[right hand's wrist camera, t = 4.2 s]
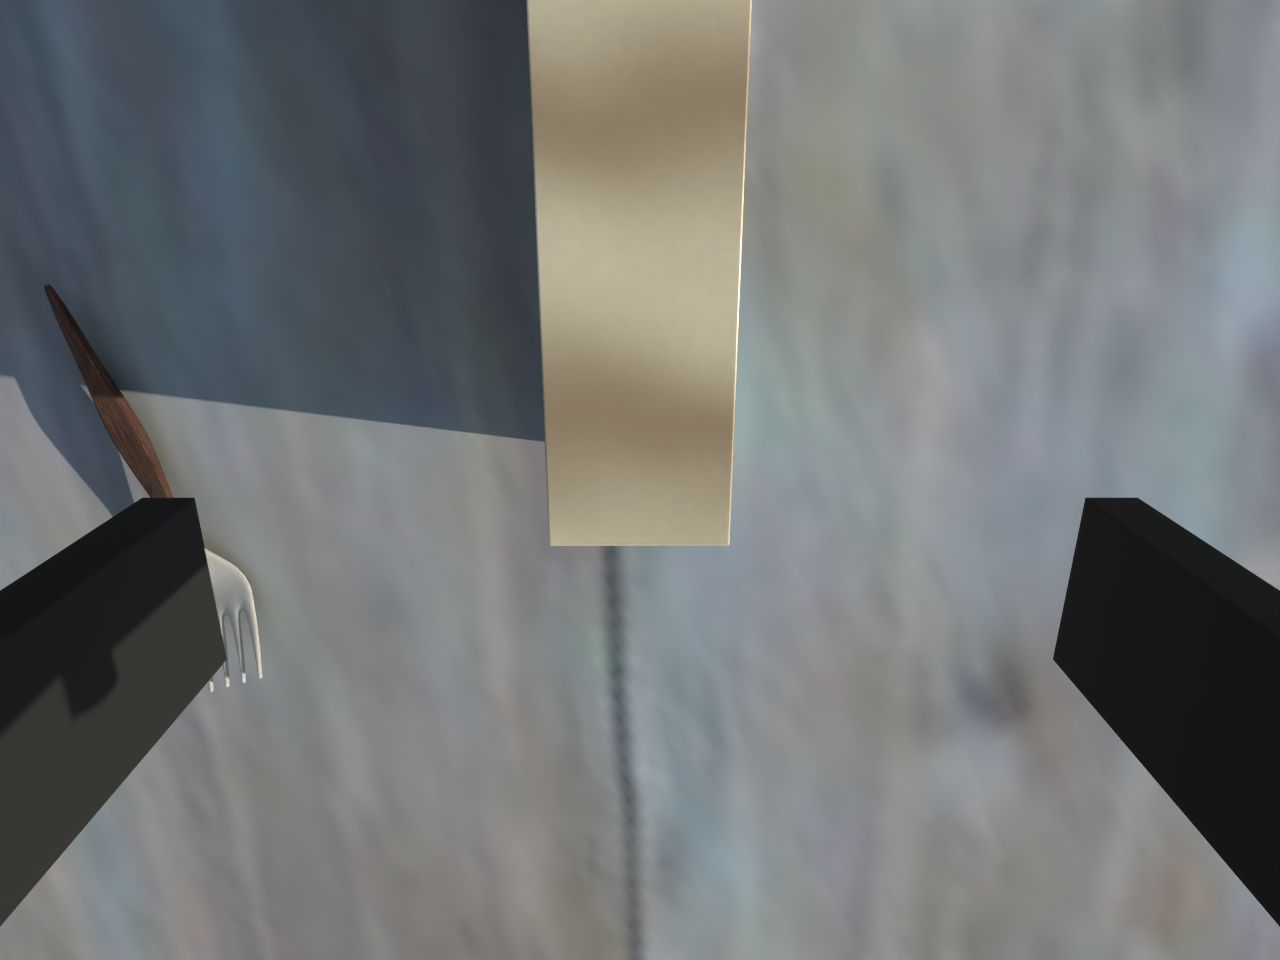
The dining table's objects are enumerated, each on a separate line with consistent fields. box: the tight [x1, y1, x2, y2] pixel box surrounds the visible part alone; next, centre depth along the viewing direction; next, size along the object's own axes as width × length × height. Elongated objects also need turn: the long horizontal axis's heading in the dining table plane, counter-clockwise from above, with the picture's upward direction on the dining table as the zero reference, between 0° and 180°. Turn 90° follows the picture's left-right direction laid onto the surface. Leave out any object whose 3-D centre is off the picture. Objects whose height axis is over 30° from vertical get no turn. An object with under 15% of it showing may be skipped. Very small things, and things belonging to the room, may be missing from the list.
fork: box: [45, 285, 262, 692], centre depth 31 cm, size 3×16×2 cm, turn 17°
